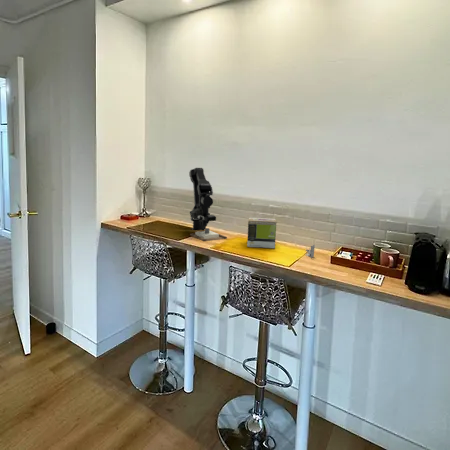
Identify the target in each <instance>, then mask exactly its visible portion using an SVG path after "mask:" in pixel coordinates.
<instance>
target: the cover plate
mask: <svg viewBox="0 0 450 450" xmlns="http://www.w3.org/2000/svg"><path fill="white" fill-rule="evenodd" d="M219 234H220V233H217V232H215V231H212V230H210V227H209V228H208V227H206V228H205V230H200V231H195V235H197V236H199V237H201V238H204V239H209V238H218V237H219Z"/></svg>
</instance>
